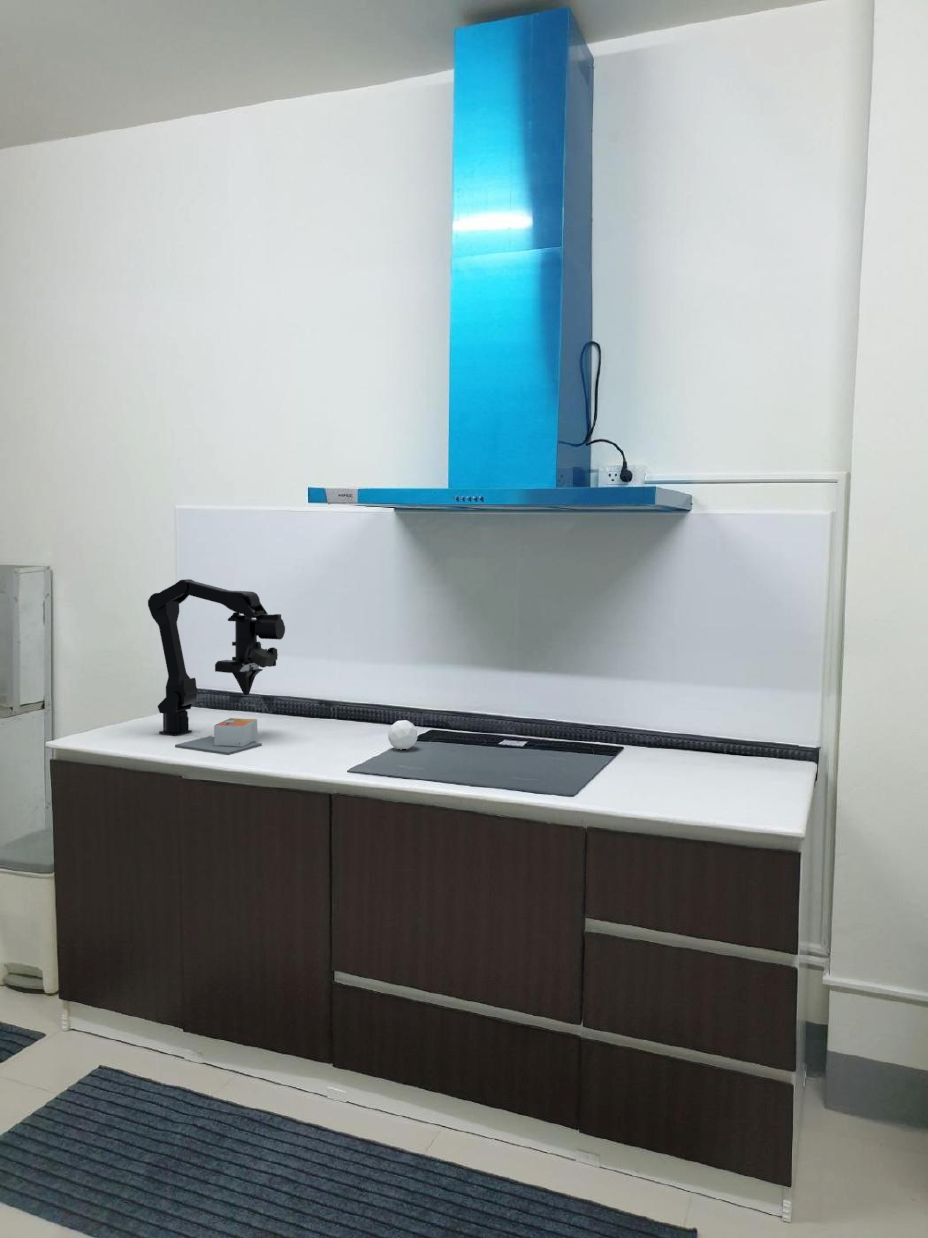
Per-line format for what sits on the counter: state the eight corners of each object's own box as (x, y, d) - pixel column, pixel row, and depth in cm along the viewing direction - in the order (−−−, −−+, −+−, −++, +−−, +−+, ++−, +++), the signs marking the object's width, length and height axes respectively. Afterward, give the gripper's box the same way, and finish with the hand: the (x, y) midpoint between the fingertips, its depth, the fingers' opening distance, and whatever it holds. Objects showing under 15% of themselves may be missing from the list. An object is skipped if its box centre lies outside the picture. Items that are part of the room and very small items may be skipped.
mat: (174, 747, 250) (174, 744, 250) (209, 738, 261) (209, 736, 261) (228, 754, 242) (228, 752, 241) (261, 745, 253) (261, 743, 253)
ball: (410, 758, 252) (428, 735, 251) (391, 753, 246) (410, 729, 245) (395, 740, 257) (413, 717, 256) (376, 734, 250) (395, 711, 249)
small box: (257, 718, 258) (243, 726, 247) (257, 739, 258) (243, 747, 248) (229, 717, 259) (213, 724, 248) (229, 738, 259) (213, 746, 249)
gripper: (245, 642, 248) (246, 702, 249) (291, 637, 264) (291, 693, 266) (213, 640, 253) (213, 698, 254) (260, 634, 270) (260, 689, 271)
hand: (246, 695), depth 261 cm, fingers closed
